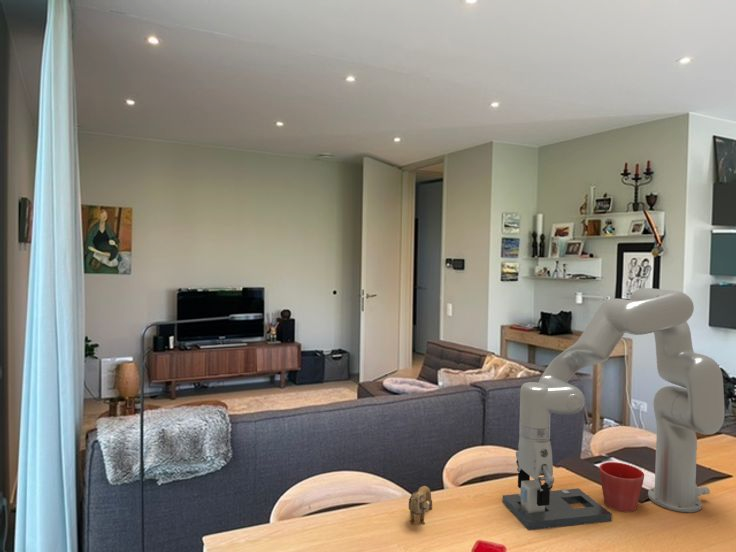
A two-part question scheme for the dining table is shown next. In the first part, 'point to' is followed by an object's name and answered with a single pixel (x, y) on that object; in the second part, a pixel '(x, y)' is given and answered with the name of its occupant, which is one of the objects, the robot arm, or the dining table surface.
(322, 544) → the dining table surface
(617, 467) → the flower pot
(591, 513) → the panel
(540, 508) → the plug
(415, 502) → the brown animal figurine
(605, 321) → the robot arm
